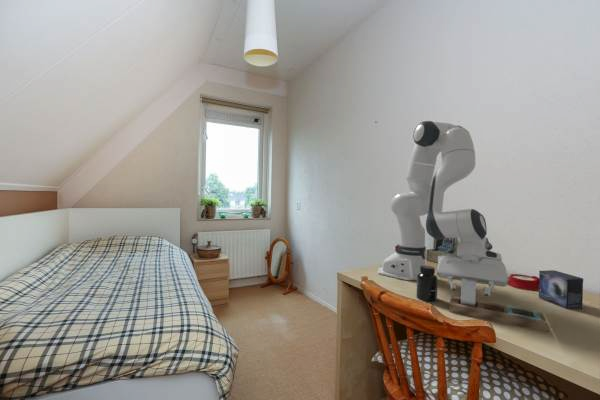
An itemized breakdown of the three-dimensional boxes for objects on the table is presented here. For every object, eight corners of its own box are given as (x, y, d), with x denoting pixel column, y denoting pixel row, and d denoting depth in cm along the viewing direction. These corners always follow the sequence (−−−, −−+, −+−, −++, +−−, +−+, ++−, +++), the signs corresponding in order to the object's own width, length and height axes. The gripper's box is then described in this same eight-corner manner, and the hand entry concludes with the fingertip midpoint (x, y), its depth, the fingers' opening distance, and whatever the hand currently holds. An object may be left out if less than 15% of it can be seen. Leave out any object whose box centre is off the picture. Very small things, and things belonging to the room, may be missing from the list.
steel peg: (460, 310, 90) (461, 280, 90) (461, 306, 94) (461, 277, 94) (475, 313, 88) (475, 282, 88) (475, 309, 92) (475, 279, 91)
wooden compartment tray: (449, 313, 90) (449, 303, 90) (451, 304, 98) (451, 294, 97) (547, 334, 77) (547, 322, 77) (541, 321, 84) (542, 311, 84)
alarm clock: (500, 273, 125) (539, 268, 121) (503, 287, 124) (543, 282, 121) (511, 280, 114) (554, 275, 111) (515, 295, 114) (558, 290, 111)
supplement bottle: (435, 305, 97) (436, 270, 96) (414, 300, 100) (415, 267, 100) (438, 298, 103) (438, 266, 102) (418, 295, 106) (418, 263, 106)
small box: (536, 297, 105) (537, 270, 105) (552, 297, 105) (553, 269, 105) (566, 309, 94) (567, 278, 94) (583, 309, 95) (584, 278, 95)
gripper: (437, 248, 102) (433, 281, 94) (506, 254, 91) (509, 293, 83) (438, 258, 106) (435, 291, 98) (505, 265, 95) (507, 303, 87)
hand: (469, 292), depth 90 cm, fingers open, 8 cm apart
